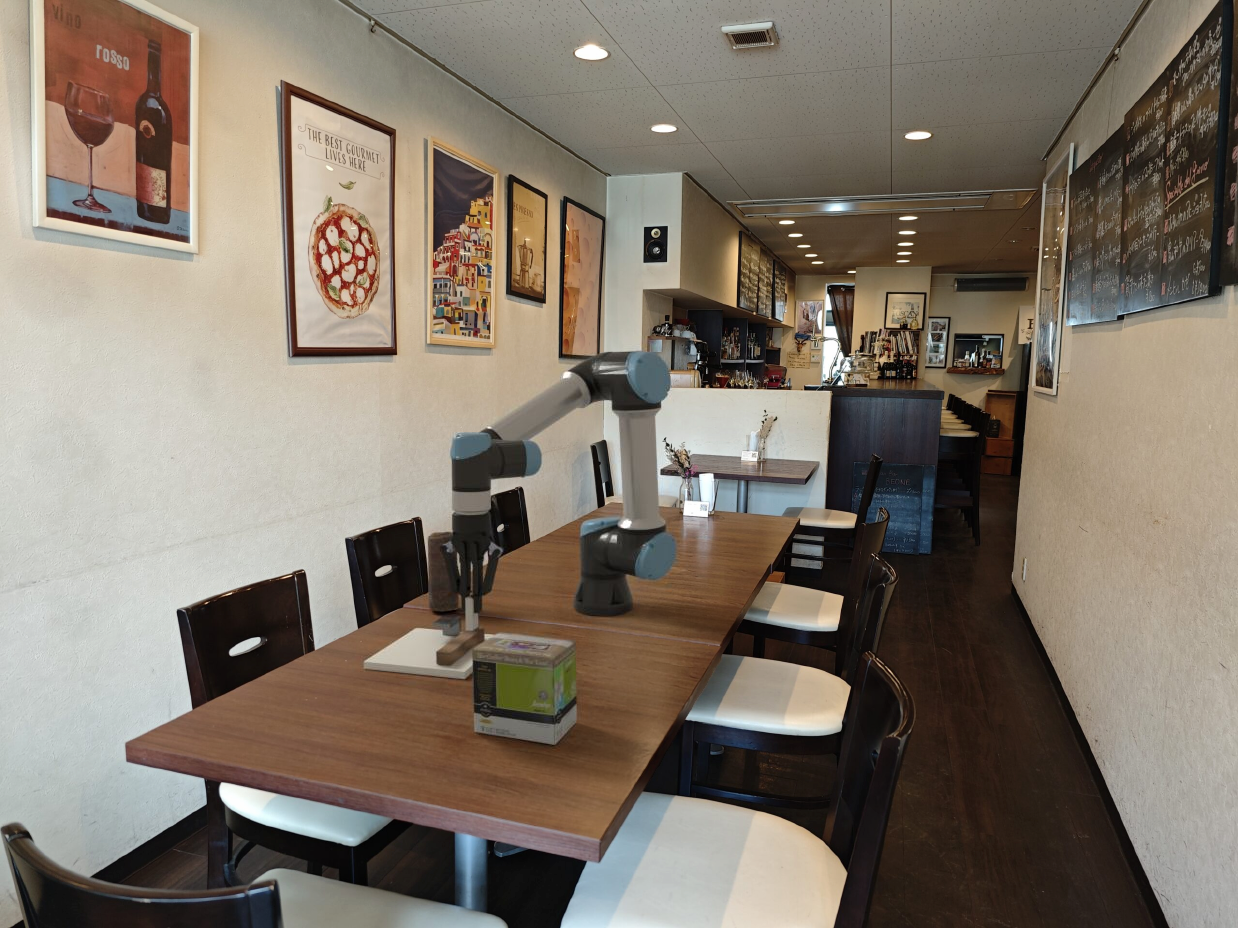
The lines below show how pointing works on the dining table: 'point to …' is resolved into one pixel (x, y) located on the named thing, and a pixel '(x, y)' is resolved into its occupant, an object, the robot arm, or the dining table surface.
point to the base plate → (421, 655)
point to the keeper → (449, 625)
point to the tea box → (525, 687)
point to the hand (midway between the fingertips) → (471, 628)
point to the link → (459, 645)
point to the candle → (440, 575)
